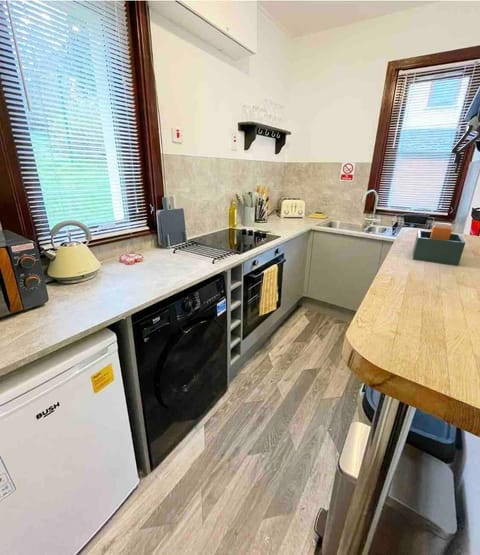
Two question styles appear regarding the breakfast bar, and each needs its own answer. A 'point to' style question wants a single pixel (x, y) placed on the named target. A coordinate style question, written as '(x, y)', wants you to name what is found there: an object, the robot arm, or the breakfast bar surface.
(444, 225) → the block
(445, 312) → the breakfast bar surface
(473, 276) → the breakfast bar surface
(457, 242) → the waste bin
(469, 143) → the robot arm
